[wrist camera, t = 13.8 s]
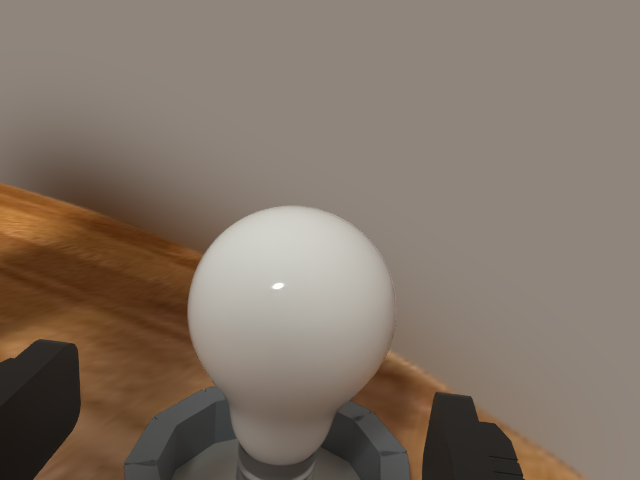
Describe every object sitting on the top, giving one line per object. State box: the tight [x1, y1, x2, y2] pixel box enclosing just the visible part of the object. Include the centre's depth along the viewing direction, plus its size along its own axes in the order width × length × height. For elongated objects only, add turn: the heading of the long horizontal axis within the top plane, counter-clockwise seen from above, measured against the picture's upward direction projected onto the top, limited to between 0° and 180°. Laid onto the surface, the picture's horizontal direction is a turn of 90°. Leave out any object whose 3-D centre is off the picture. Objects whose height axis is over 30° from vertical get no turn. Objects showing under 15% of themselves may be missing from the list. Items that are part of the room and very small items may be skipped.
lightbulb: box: [187, 206, 396, 480], centre depth 18 cm, size 6×6×11 cm
